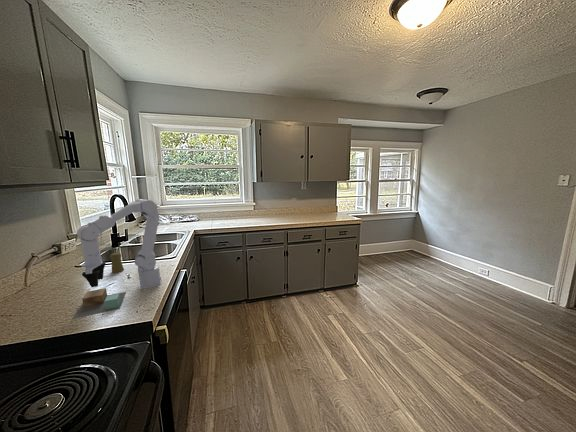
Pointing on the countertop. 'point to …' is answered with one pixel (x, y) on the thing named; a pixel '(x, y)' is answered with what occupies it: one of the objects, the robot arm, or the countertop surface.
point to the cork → (116, 263)
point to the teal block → (112, 301)
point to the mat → (96, 308)
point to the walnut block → (94, 297)
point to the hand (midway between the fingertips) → (97, 282)
